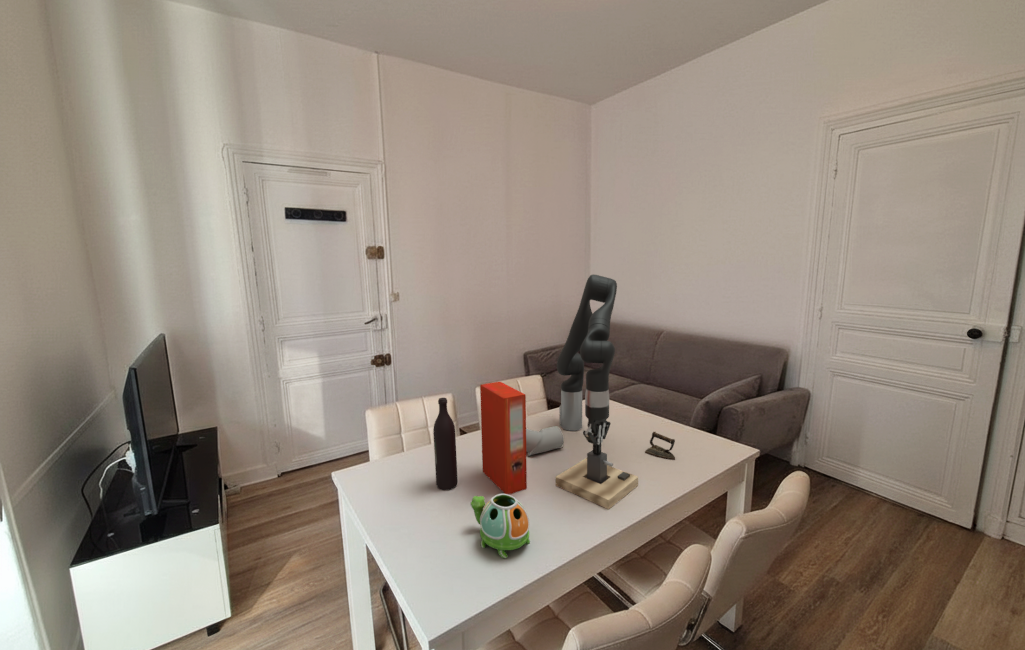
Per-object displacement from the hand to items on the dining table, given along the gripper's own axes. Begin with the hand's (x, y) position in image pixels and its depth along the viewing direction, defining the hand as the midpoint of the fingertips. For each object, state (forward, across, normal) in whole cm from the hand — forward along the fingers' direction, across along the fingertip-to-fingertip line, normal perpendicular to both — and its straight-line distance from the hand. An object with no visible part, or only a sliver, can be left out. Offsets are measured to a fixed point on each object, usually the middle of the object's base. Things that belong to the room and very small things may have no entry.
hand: (597, 453), depth 133 cm
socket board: (+11, 0, 0) cm, 11 cm away
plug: (+10, 0, +1) cm, 10 cm away
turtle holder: (+11, +40, -4) cm, 42 cm away
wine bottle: (+11, +33, -37) cm, 51 cm away
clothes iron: (+11, -35, +6) cm, 37 cm away
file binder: (+11, +18, -25) cm, 33 cm away
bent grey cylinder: (+11, -6, -34) cm, 37 cm away
